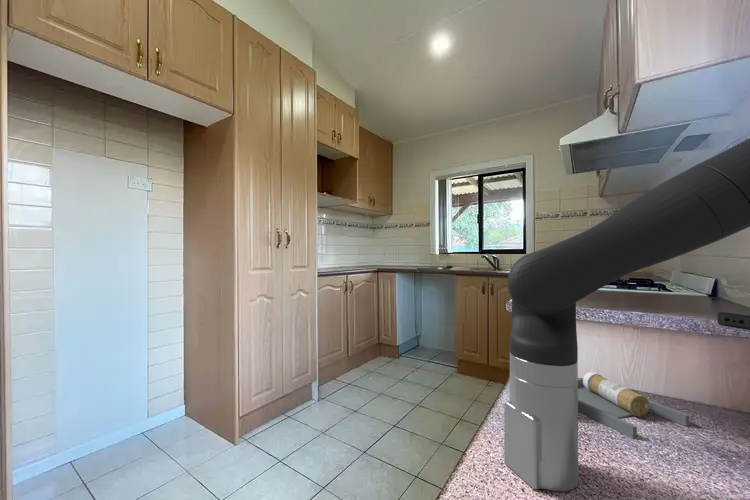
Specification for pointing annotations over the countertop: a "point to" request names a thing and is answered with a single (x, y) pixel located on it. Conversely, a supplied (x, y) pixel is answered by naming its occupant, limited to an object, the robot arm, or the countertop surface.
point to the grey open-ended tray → (620, 411)
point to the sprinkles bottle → (616, 393)
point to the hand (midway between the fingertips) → (720, 318)
